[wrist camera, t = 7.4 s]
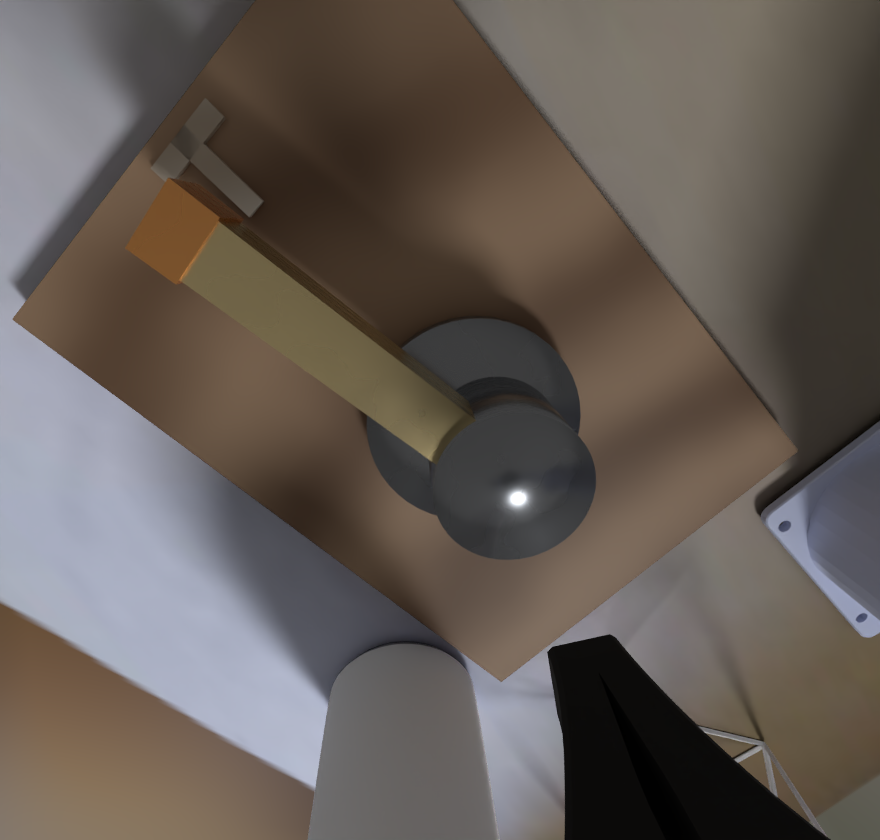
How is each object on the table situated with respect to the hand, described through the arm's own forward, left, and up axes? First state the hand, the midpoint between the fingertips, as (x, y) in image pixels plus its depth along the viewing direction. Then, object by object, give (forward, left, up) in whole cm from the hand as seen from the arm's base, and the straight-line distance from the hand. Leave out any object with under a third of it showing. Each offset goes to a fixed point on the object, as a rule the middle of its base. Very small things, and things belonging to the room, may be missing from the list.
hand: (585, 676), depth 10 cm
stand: (+4, -1, -9) cm, 10 cm away
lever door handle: (+6, -1, -8) cm, 10 cm away
